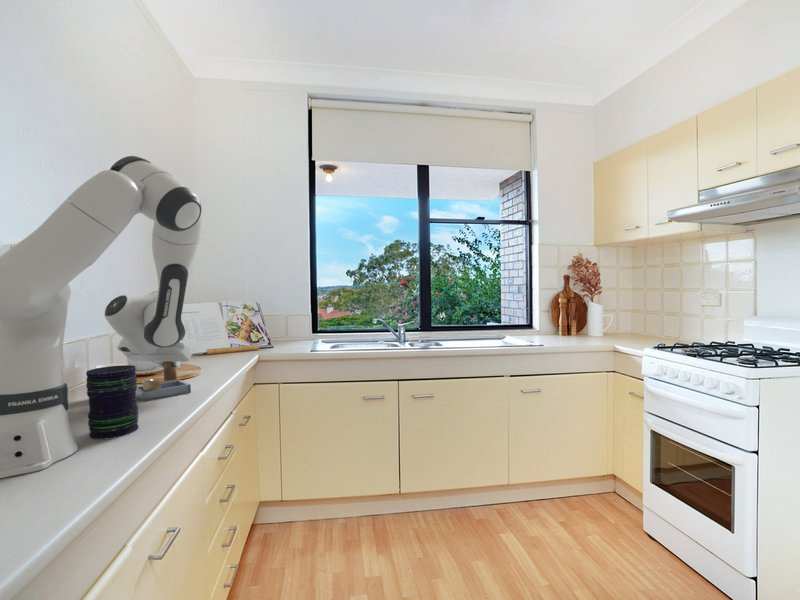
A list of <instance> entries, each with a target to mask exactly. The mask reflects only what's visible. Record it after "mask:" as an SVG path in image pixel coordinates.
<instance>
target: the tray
mask: <svg viewBox="0 0 800 600" xmlns="http://www.w3.org/2000/svg"><path fill="white" fill-rule="evenodd" d="M190 393H192V391H191V384H190V383H189V382H185V381H182V380H181V379H176V380H172V381H163V382H161V389H159V390H153V391H147V392H144V391H143V385H139V386H137V389H136V399H137V398H138V399H139V400H140V401H142V402H147V401H146V400H148V401H152V400H151V399H153V400H157V398H159V399H163V397H164V398H169V397H175V396H179V395H185V394H190Z"/></svg>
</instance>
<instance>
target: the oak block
mask: <svg viewBox="0 0 800 600" xmlns="http://www.w3.org/2000/svg"><path fill="white" fill-rule="evenodd" d="M161 383H162V382H161V381H160V380H158V379H153V381H146V382H143V384H142V386H143V391H144V392H147V391H153V390H159V389H161Z"/></svg>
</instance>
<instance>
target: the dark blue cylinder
mask: <svg viewBox="0 0 800 600" xmlns="http://www.w3.org/2000/svg"><path fill="white" fill-rule="evenodd" d="M136 369H137V367H136V365H131V364H130V365H129V364H126V365H121V366H109V367H102V368H92V369H89V370H87V371H86V372H85V373H86V376H87V377H86V384H85V385H86V386H85V387H86V395H87V397H88V404H89V405H88V406H89V412H88V413H87V414H88V415H87V417H88V420H87V422H88V430H89V438H90V439H92V438H93V439H92V440H106V439H105V438H110V439H114V438H113V437H116V438H120V437H119V436H121V437H124V436H128V435H130V433H131V434H133V433H135V432H137V431H138V430H139V424H138V423H139V412H138V411H139V408H138V407H139V406H138V405H137V397H136V389H137V387H138V385H137V382H138V380H137V379H138V378H137V374H136V373H137V372H136ZM137 429H138V430H137ZM136 430H137V431H136ZM134 431H135V432H134ZM132 432H133V433H132ZM127 434H128V435H127ZM123 435H124V436H123Z"/></svg>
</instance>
